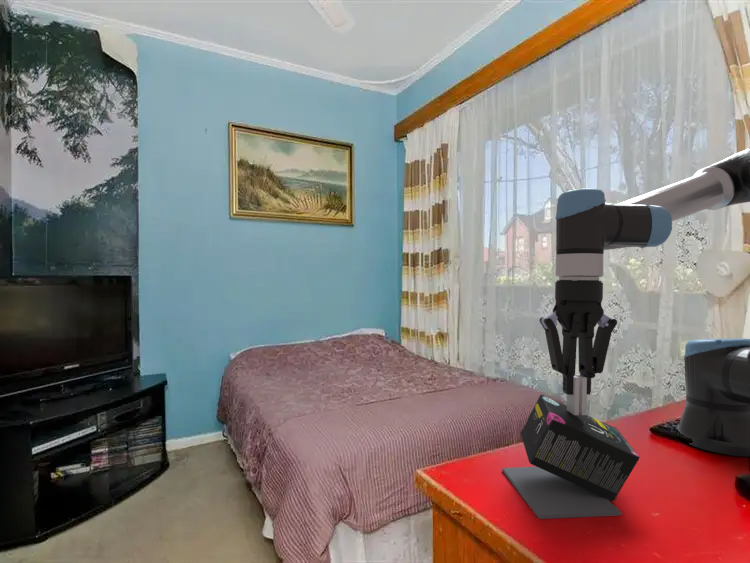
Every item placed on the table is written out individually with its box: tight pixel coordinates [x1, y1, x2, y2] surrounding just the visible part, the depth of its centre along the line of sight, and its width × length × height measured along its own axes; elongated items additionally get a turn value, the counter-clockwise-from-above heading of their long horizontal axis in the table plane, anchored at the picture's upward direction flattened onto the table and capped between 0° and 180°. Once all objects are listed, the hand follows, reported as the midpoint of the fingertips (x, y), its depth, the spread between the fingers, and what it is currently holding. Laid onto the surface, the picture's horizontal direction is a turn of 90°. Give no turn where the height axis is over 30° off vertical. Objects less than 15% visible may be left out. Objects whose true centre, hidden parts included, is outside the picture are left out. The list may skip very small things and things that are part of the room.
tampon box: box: [520, 394, 641, 503], centre depth 72 cm, size 11×9×15 cm
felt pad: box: [501, 466, 622, 520], centre depth 71 cm, size 13×16×1 cm
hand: (576, 412), depth 72 cm, fingers closed
